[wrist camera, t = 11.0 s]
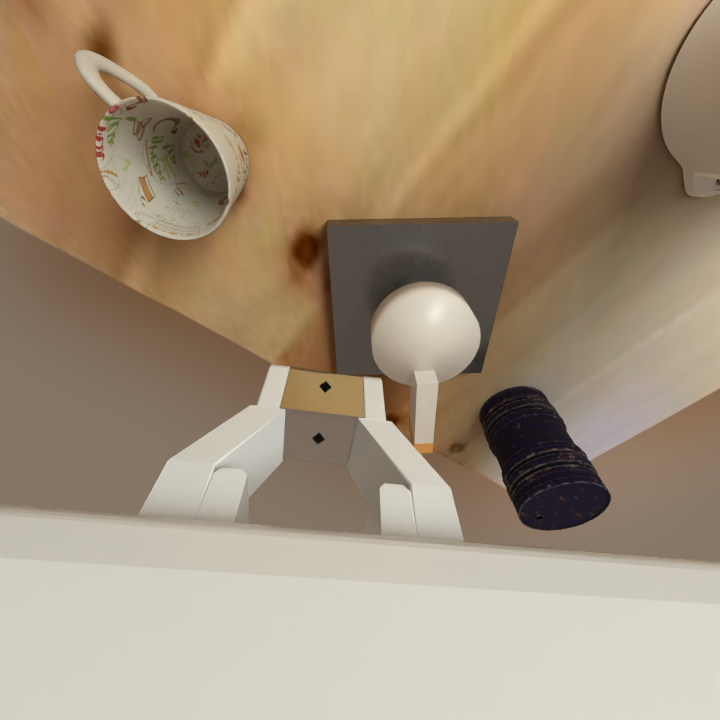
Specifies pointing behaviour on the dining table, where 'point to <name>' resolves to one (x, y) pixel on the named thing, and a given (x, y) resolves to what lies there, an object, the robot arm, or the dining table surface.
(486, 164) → the dining table surface
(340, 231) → the plate
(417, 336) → the white handled oval piece
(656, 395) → the dining table surface
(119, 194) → the mug
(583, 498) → the dark blue ribbed cylinder
